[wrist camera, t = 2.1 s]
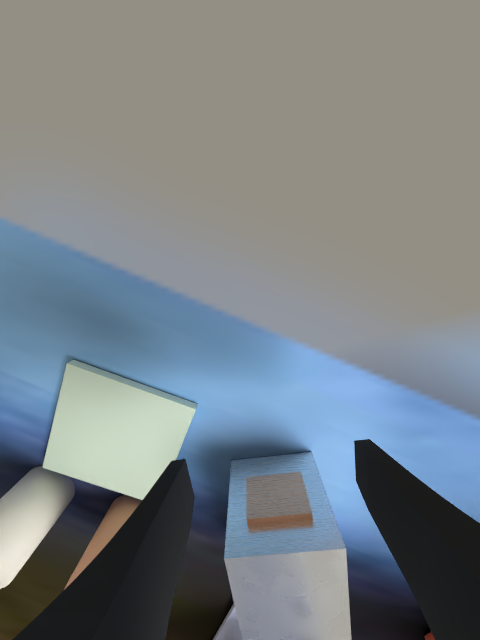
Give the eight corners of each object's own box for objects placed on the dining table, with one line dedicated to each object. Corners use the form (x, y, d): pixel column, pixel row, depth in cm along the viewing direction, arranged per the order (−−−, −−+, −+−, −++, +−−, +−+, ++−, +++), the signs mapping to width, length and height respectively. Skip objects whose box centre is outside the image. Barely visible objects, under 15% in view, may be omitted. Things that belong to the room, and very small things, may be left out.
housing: (319, 537, 19) (352, 658, 13) (246, 543, 19) (247, 664, 13) (311, 446, 17) (345, 540, 11) (230, 454, 17) (222, 551, 11)
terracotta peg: (150, 537, 19) (119, 629, 15) (104, 523, 19) (57, 611, 14) (165, 503, 19) (136, 587, 14) (116, 487, 18) (70, 568, 13)
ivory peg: (69, 512, 19) (9, 597, 14) (20, 497, 19) (-58, 578, 14) (79, 475, 18) (19, 552, 13) (29, 459, 18) (-52, 531, 13)
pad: (160, 497, 18) (157, 505, 18) (49, 460, 18) (42, 467, 17) (197, 404, 16) (195, 409, 16) (73, 359, 16) (66, 363, 15)
